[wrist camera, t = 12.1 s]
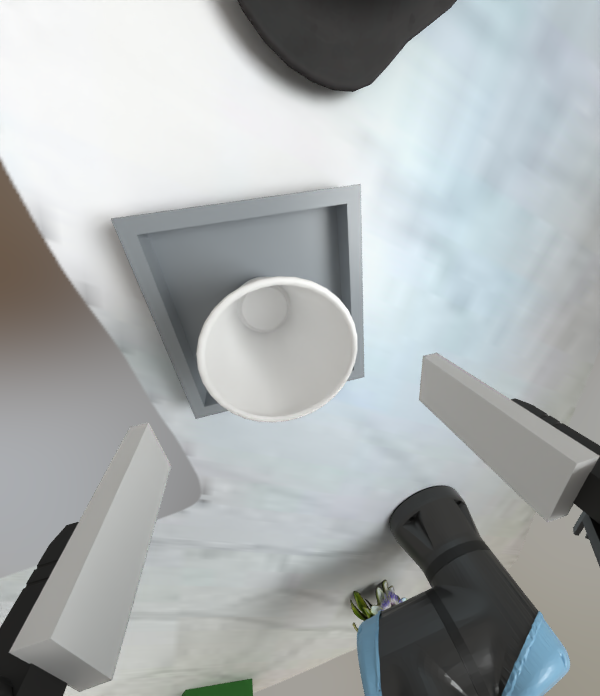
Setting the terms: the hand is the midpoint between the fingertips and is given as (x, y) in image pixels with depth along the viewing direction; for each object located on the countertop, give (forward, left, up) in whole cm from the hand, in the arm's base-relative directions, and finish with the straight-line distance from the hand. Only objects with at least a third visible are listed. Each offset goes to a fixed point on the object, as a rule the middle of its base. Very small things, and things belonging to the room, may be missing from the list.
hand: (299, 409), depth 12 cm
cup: (0, 0, -15) cm, 15 cm away
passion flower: (-76, -12, -16) cm, 78 cm away
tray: (0, 0, -16) cm, 16 cm away
